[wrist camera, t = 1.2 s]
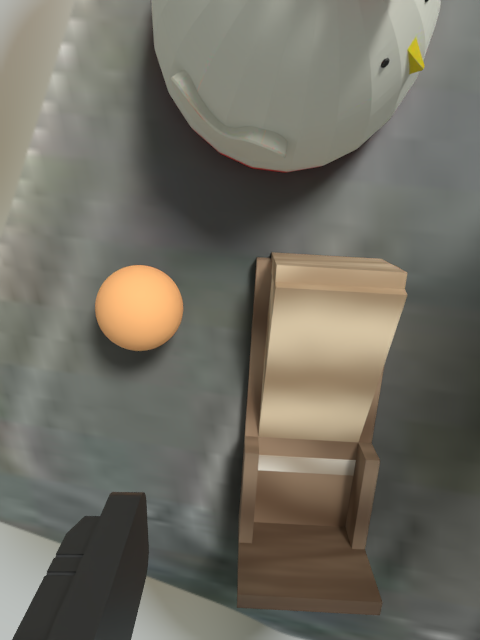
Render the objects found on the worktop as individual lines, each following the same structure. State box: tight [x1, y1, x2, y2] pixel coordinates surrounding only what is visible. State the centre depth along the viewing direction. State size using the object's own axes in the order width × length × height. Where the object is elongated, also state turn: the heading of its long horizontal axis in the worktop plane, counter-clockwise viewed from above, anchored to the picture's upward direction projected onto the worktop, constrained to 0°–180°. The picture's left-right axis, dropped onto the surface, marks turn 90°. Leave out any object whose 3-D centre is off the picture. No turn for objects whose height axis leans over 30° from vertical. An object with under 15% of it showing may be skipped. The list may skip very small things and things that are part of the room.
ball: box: [95, 265, 183, 351], centre depth 26 cm, size 5×5×5 cm
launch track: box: [237, 253, 407, 615], centre depth 28 cm, size 20×9×9 cm, turn 177°
